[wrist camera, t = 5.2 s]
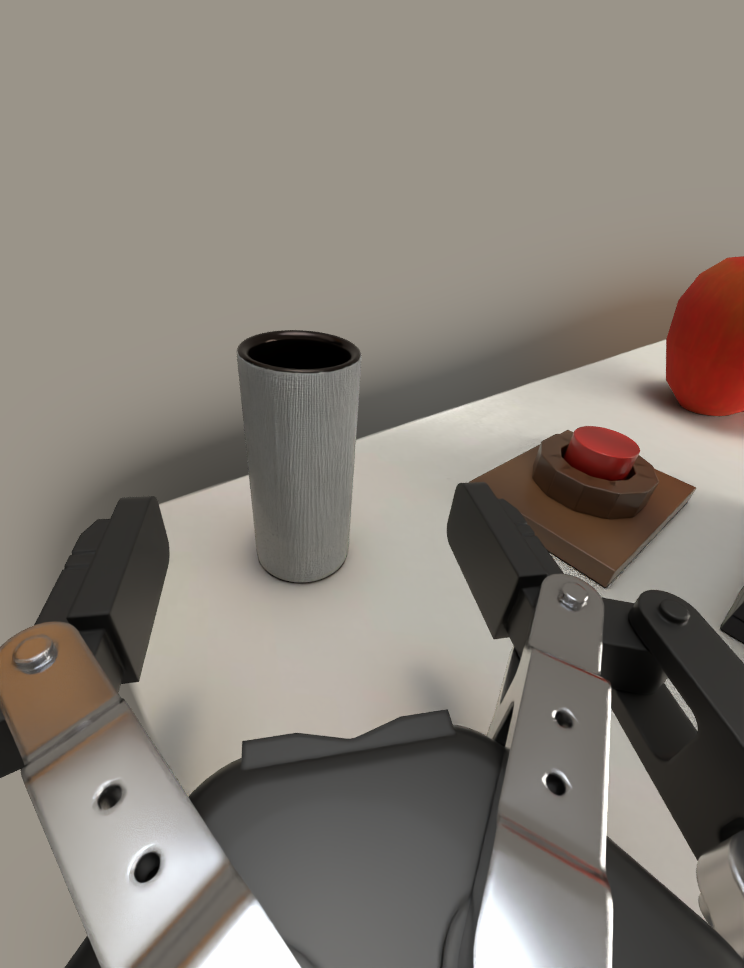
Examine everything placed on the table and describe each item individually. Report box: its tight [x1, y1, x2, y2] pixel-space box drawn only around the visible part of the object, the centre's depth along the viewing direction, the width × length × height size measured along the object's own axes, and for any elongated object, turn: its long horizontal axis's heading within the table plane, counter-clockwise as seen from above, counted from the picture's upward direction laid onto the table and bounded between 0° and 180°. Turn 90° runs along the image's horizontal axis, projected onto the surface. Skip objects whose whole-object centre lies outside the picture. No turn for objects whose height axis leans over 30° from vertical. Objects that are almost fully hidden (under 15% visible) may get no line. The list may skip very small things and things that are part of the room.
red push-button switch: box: [469, 430, 696, 587], centre depth 27 cm, size 12×9×3 cm
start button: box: [564, 426, 640, 481], centre depth 25 cm, size 4×4×2 cm
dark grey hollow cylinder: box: [237, 330, 361, 582], centre depth 19 cm, size 4×4×10 cm
